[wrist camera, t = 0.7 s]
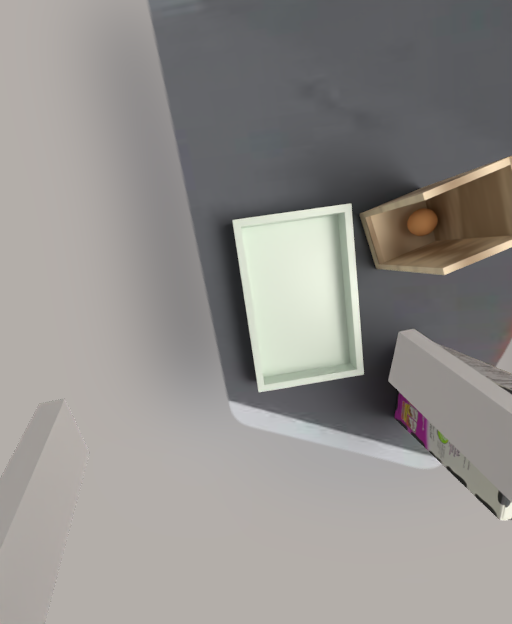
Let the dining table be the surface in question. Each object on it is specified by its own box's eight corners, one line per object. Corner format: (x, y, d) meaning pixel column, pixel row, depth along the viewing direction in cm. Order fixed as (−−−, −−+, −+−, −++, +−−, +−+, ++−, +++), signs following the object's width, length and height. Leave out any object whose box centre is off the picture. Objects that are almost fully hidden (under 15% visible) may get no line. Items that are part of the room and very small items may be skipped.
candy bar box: (427, 417, 41) (551, 522, 25) (392, 418, 41) (497, 524, 25) (439, 340, 39) (583, 400, 23) (403, 340, 39) (524, 401, 22)
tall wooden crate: (421, 188, 35) (515, 154, 23) (435, 243, 36) (532, 238, 25) (359, 213, 35) (422, 192, 23) (376, 268, 36) (444, 274, 25)
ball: (405, 208, 34) (420, 204, 31) (429, 212, 34) (447, 208, 32) (399, 234, 35) (413, 233, 32) (423, 238, 35) (439, 237, 32)
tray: (232, 223, 34) (232, 220, 31) (341, 207, 35) (351, 203, 32) (256, 381, 38) (258, 392, 35) (354, 365, 39) (364, 374, 36)
